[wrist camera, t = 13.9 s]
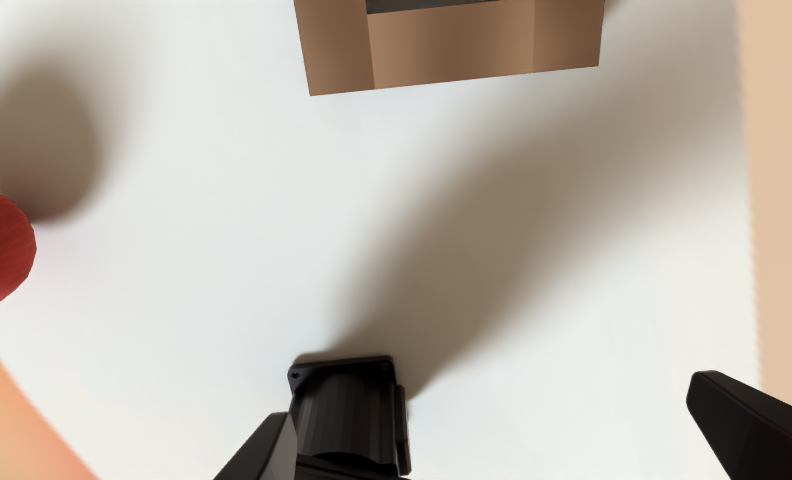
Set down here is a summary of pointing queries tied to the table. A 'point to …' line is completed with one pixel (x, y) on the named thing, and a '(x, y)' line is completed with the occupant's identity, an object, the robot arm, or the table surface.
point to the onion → (14, 247)
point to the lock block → (443, 42)
